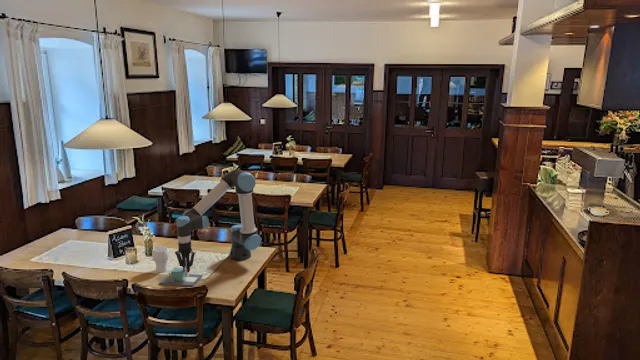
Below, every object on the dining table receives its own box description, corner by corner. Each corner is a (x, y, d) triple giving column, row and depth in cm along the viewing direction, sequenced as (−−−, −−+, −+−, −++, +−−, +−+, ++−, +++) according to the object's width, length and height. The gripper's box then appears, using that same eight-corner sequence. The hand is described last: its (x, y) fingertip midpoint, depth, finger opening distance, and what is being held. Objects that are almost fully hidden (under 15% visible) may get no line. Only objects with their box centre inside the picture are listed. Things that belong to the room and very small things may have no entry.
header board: (202, 276, 287) (201, 269, 285) (192, 287, 273) (192, 279, 272) (169, 274, 290) (169, 267, 288) (159, 284, 276) (158, 277, 275)
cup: (156, 266, 300) (154, 246, 297) (172, 266, 301) (170, 245, 297) (151, 273, 290) (149, 252, 286) (168, 273, 291) (166, 252, 287)
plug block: (185, 277, 283) (185, 268, 281) (182, 281, 278) (181, 272, 276) (175, 276, 284) (174, 267, 282) (171, 280, 279) (170, 271, 277)
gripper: (197, 239, 277) (199, 274, 283) (177, 238, 279) (179, 273, 284) (192, 244, 270) (194, 279, 275) (171, 243, 271) (174, 278, 277)
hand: (187, 276), depth 280 cm, fingers closed
